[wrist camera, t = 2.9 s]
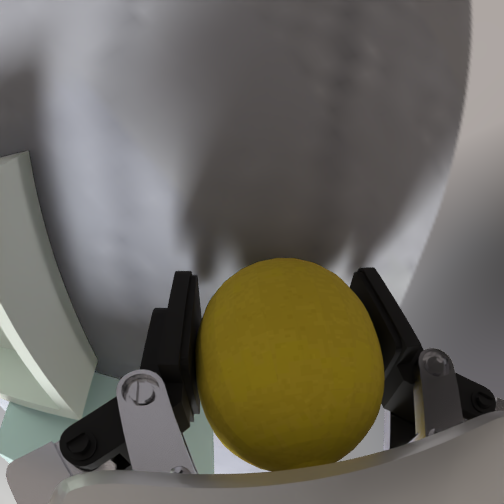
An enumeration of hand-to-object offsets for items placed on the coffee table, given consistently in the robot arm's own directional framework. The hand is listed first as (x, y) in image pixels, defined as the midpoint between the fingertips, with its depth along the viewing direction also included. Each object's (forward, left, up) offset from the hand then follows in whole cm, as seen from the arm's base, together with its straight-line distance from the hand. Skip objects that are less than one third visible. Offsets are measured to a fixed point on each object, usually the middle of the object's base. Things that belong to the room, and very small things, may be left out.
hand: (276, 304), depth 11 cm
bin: (0, -15, -1) cm, 15 cm away
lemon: (0, 0, -2) cm, 2 cm away
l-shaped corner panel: (+13, -10, -2) cm, 17 cm away
